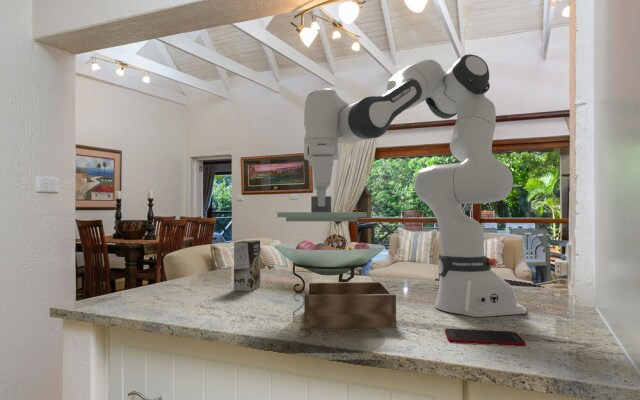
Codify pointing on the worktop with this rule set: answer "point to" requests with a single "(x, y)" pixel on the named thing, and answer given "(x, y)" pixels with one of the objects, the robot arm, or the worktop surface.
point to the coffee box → (246, 265)
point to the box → (349, 305)
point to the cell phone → (484, 337)
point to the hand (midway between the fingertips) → (321, 206)
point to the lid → (321, 213)
